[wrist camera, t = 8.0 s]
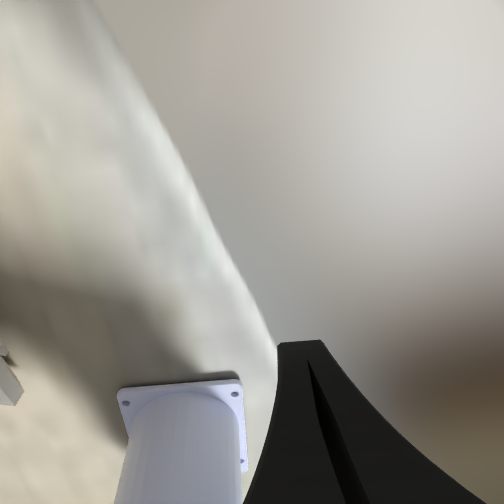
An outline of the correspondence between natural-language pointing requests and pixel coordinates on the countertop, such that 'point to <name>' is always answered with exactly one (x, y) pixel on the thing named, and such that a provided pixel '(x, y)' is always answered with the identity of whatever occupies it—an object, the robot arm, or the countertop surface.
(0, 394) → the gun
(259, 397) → the countertop surface
